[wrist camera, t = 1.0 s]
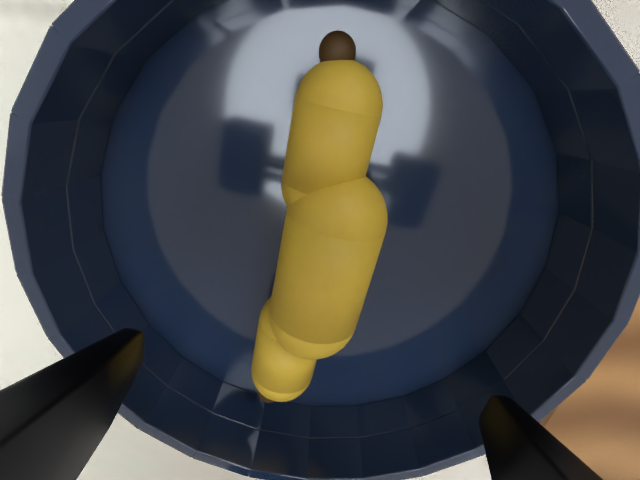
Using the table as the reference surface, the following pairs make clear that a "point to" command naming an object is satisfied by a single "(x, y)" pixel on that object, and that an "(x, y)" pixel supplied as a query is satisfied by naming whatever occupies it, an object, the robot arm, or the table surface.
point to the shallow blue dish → (270, 210)
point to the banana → (323, 223)
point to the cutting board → (606, 411)
